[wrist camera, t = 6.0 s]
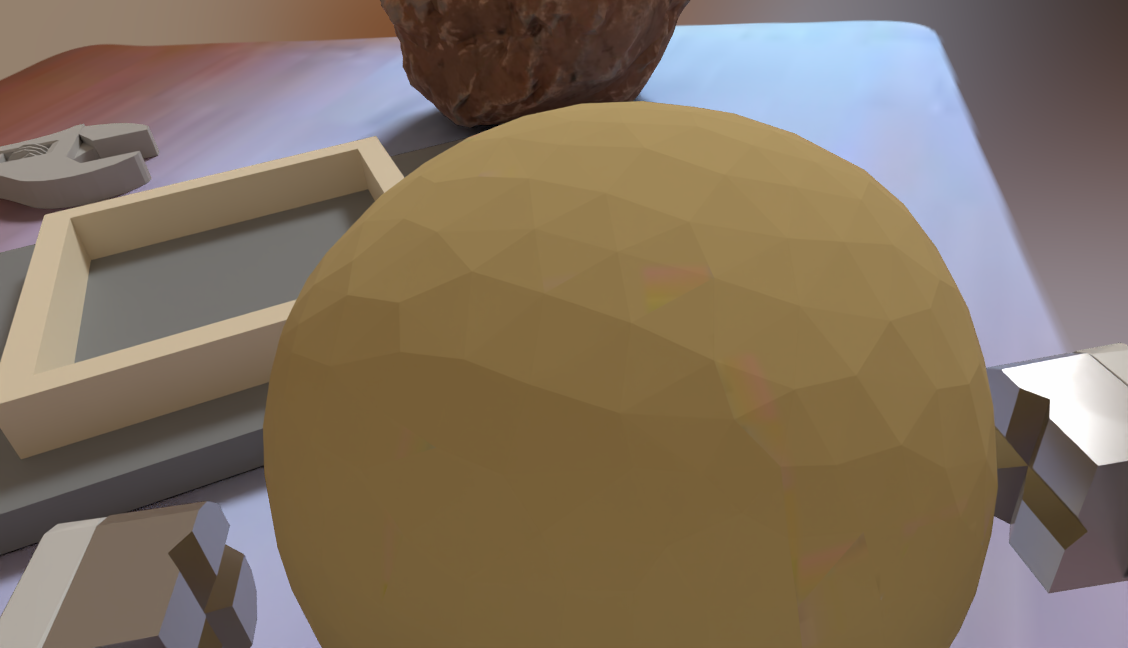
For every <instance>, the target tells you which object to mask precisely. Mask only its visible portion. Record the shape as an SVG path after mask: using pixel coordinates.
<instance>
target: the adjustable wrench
mask: <svg viewBox="0 0 1128 648" xmlns="http://www.w3.org/2000/svg"><path fill="white" fill-rule="evenodd" d="M158 154H159V150H158V148H157V145H156V143H155V140H154V138H153V136H152V133H151V131H150V129H149V126H146V125H141V124H131V123H115V124H102V125H93V126H85V125H84V124H81V125H77V126H74V127H72V128H69V129H67V130H64V131H61V132H58V133H54V134H51V135H48V136H44V137H40V138H36V139H32V140H28V141H24V142H20V143H16V144H11V145H7V146H1V147H0V198H2V199H6V200H10V201H14V202H17V203H20V204H23V205H27V206H30V207H33V208H41V209H55V208H67V207H73V206H79V205H85V204H90V203H93V202H97V201H101V200H105V199H108V198H111V197H114V196H117V195H120V194H124V193H127V192H129V191H131V190H134V189H136V188H138V187H140V186H142V185H145V184H147V183H148V182H149V181H150V180H151V179H152V178H151V176H150V173H149V171H148V169H147V166H146V164H145V162H144V158H149V157H154V156H158Z"/></svg>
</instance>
